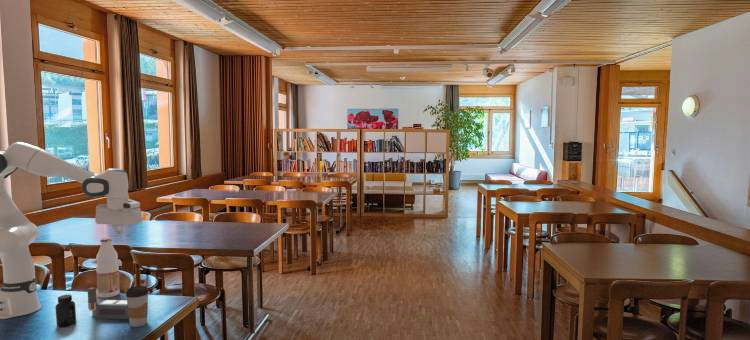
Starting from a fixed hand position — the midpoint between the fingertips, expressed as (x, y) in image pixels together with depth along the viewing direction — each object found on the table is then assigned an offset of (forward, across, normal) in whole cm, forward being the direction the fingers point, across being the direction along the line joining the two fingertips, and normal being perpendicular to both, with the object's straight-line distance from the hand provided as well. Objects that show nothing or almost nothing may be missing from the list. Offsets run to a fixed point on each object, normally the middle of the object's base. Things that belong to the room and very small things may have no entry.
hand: (119, 233), depth 212 cm
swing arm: (+25, 0, -20) cm, 32 cm away
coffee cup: (+33, +20, -22) cm, 45 cm away
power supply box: (+33, +4, -14) cm, 36 cm away
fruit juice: (+33, -14, +12) cm, 38 cm away
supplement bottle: (+33, -9, -24) cm, 42 cm away
